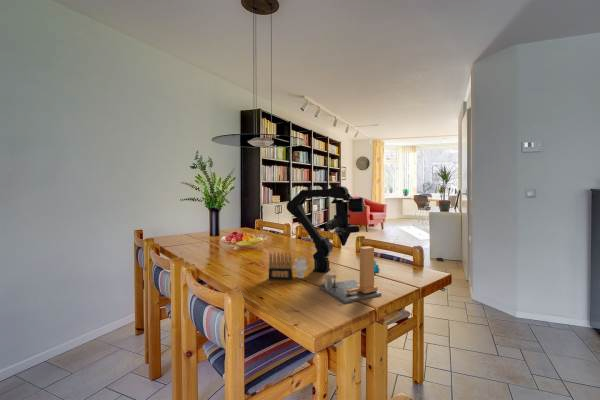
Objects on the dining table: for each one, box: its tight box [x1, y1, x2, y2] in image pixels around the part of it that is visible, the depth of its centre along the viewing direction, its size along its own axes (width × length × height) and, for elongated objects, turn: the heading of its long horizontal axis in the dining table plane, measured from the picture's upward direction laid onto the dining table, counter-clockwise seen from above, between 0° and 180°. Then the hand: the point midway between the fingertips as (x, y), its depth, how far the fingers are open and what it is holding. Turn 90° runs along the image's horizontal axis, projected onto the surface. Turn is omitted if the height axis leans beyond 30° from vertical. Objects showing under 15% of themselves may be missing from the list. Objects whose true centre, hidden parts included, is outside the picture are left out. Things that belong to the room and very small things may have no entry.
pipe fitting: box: [292, 257, 309, 279], centre depth 132 cm, size 6×7×8 cm
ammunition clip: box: [268, 252, 294, 281], centre depth 129 cm, size 11×2×12 cm, turn 82°
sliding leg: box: [347, 245, 378, 294], centre depth 109 cm, size 5×12×16 cm, turn 116°
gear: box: [374, 260, 381, 273], centre depth 141 cm, size 11×6×10 cm
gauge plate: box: [319, 274, 382, 304], centre depth 113 cm, size 18×16×6 cm
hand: (343, 245), depth 137 cm, fingers closed
